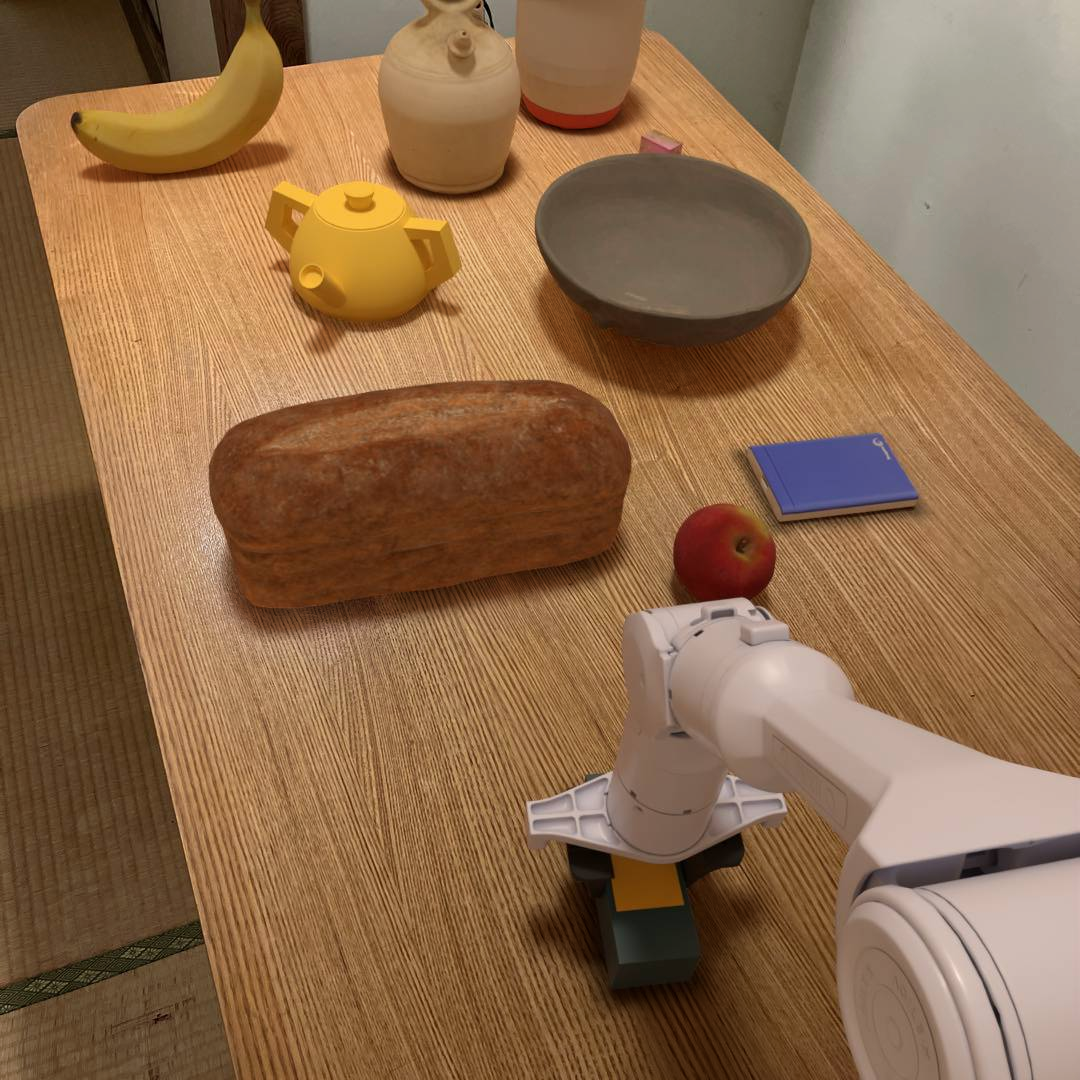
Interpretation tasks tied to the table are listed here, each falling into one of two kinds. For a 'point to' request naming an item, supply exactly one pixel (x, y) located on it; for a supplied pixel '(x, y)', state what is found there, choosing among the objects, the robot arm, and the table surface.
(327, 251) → the teapot
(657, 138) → the perfume bottle
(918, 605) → the table surface
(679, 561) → the apple
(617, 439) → the bread
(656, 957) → the packet
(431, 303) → the table surface
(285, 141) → the table surface
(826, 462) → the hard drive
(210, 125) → the banana
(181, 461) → the table surface
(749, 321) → the bowl
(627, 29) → the citrus juicer
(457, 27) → the jug
